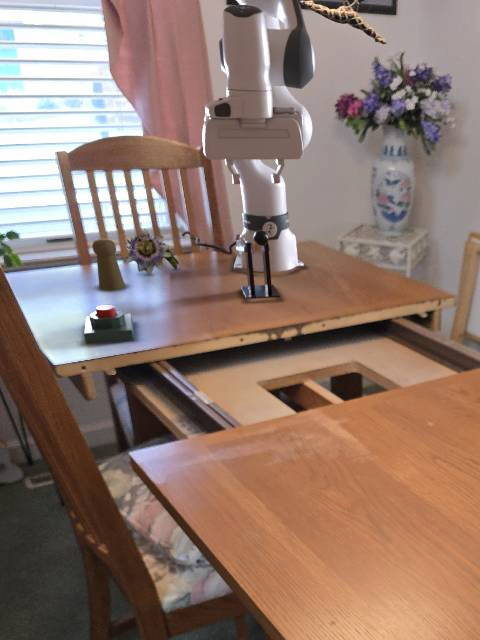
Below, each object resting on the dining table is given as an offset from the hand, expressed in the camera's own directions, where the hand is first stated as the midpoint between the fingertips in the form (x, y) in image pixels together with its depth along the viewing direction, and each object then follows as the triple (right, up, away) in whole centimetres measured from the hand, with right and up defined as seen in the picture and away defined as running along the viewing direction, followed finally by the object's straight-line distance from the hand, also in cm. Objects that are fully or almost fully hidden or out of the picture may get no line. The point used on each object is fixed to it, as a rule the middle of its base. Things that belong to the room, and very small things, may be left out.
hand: (256, 183), depth 149 cm
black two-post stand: (-4, -16, +22) cm, 28 cm away
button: (-30, -30, -5) cm, 42 cm away
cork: (-40, -14, +24) cm, 49 cm away
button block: (-30, -32, -3) cm, 44 cm away
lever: (-2, -10, +11) cm, 15 cm away
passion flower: (-35, -4, +37) cm, 51 cm away
